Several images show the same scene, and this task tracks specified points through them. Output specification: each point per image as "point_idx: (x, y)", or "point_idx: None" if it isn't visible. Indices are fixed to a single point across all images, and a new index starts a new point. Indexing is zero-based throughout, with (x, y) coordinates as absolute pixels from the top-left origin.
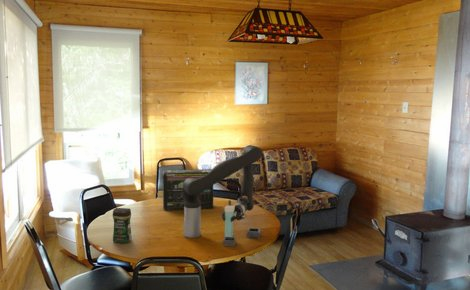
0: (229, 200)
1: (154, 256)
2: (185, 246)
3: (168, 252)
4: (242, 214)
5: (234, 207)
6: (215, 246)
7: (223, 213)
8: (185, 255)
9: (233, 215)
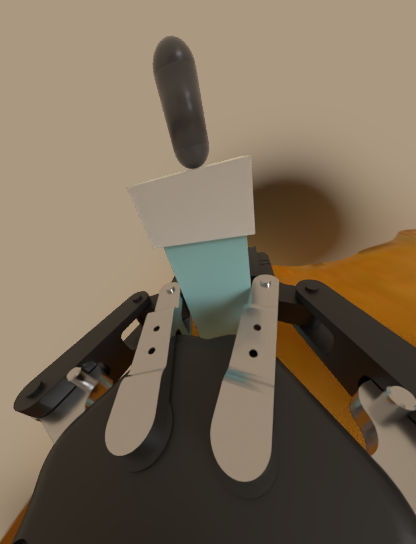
0: (174, 41)
1: (382, 244)
2: (393, 307)
3: (381, 263)
4: (72, 350)
5: (138, 211)
6: (284, 340)
7: (312, 288)
8: (319, 266)
9: (182, 289)
